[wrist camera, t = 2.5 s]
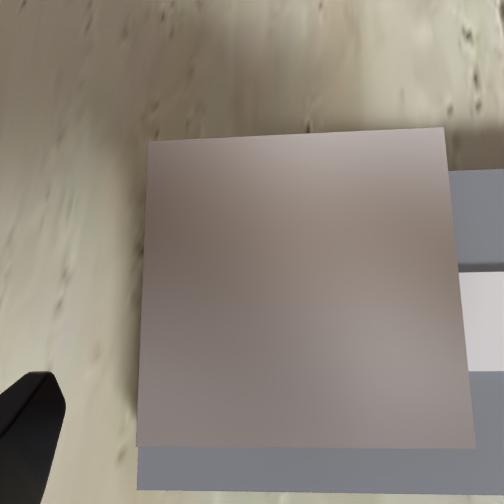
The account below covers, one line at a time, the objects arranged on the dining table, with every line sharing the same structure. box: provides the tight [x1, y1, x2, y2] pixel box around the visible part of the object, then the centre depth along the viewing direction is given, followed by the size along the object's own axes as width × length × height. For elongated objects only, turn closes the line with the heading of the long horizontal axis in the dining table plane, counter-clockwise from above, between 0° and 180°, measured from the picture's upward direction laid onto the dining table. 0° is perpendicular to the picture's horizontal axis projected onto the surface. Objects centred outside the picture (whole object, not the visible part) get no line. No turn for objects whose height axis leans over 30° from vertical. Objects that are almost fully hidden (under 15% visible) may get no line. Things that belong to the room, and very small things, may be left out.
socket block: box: [137, 169, 504, 495], centre depth 16 cm, size 10×16×3 cm, turn 91°
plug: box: [136, 127, 476, 449], centre depth 12 cm, size 4×4×12 cm
